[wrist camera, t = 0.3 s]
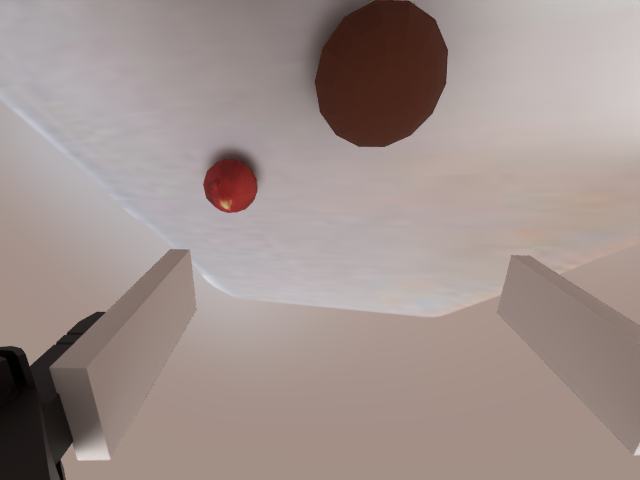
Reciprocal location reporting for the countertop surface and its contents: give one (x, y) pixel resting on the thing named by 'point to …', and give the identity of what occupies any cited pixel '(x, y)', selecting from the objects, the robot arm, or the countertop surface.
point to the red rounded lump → (230, 186)
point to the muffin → (381, 73)
